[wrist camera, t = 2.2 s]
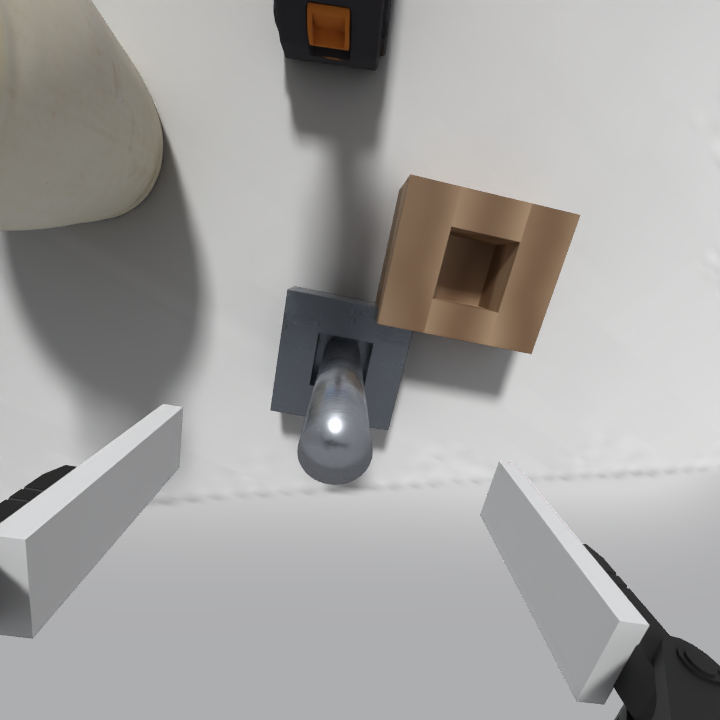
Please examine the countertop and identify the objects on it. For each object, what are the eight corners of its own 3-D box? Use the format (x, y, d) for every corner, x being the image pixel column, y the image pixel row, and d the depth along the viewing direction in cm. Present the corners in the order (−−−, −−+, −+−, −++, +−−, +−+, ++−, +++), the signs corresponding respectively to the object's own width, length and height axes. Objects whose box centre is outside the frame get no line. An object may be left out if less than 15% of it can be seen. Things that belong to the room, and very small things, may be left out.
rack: (372, 313, 29) (377, 323, 24) (399, 190, 27) (410, 174, 22) (502, 339, 30) (531, 353, 26) (540, 223, 28) (580, 215, 23)
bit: (320, 368, 30) (292, 478, 15) (327, 333, 29) (303, 412, 14) (355, 374, 30) (364, 489, 15) (363, 340, 29) (379, 425, 14)
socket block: (278, 394, 31) (270, 410, 28) (294, 286, 28) (287, 289, 25) (383, 412, 32) (388, 430, 29) (408, 309, 29) (416, 315, 26)
